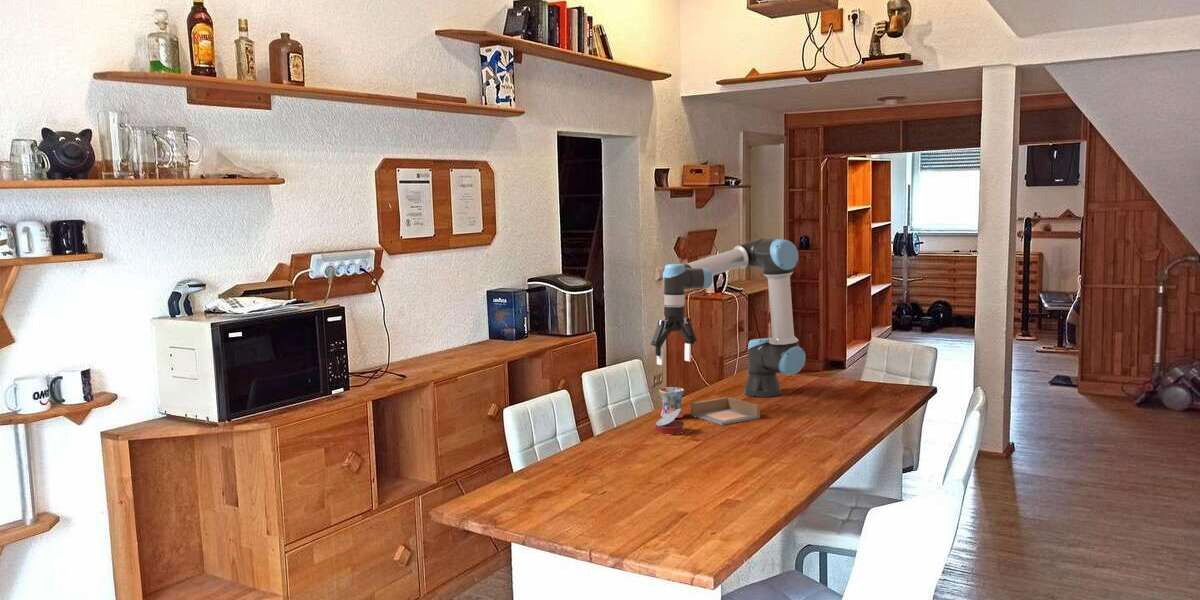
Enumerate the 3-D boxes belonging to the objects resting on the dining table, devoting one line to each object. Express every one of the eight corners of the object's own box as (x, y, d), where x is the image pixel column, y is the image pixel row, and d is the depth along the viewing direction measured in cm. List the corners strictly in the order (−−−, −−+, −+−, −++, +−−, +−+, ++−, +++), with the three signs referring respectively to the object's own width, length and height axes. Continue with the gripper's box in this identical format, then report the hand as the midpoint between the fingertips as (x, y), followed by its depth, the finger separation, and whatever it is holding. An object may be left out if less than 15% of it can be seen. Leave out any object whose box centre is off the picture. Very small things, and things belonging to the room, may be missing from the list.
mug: (679, 421, 334) (679, 393, 333) (655, 419, 338) (655, 391, 337) (690, 414, 345) (690, 386, 344) (667, 412, 349) (666, 385, 348)
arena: (728, 409, 351) (728, 396, 351) (759, 418, 336) (759, 405, 336) (690, 416, 342) (690, 402, 342) (721, 425, 327) (721, 411, 326)
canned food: (676, 448, 316) (671, 426, 310) (652, 441, 321) (646, 419, 316) (692, 427, 323) (688, 406, 317) (669, 421, 328) (663, 399, 323)
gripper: (692, 303, 347) (692, 358, 349) (641, 307, 333) (641, 364, 335) (706, 304, 341) (705, 360, 343) (654, 308, 327) (654, 367, 329)
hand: (674, 362), depth 339 cm, fingers open, 13 cm apart
